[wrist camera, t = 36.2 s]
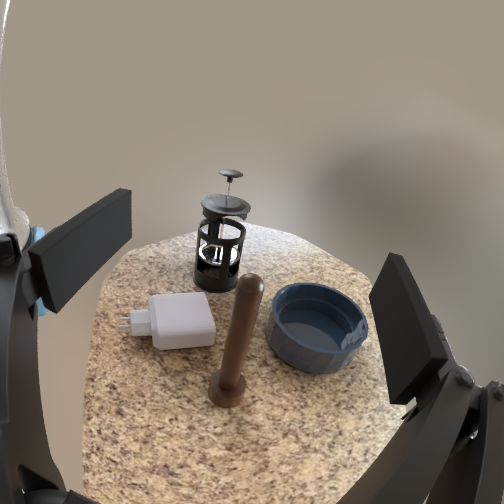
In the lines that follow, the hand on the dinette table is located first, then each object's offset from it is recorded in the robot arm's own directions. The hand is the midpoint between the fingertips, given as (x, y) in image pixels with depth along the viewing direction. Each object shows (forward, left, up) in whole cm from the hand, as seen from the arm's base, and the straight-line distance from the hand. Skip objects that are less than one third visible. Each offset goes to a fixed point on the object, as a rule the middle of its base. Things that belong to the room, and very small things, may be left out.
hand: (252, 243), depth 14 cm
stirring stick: (-2, +9, -30) cm, 32 cm away
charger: (-17, +14, -30) cm, 37 cm away
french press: (-18, +32, -30) cm, 48 cm away
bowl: (+5, +27, -30) cm, 41 cm away
